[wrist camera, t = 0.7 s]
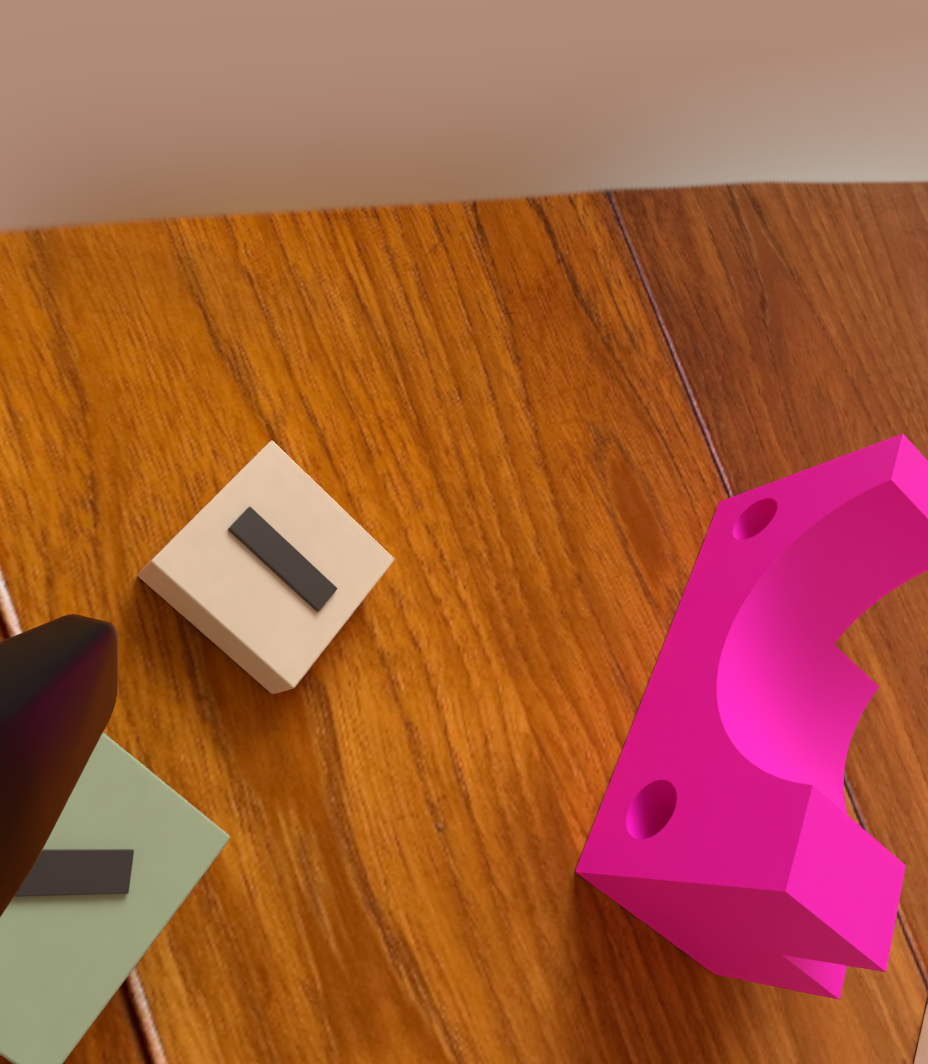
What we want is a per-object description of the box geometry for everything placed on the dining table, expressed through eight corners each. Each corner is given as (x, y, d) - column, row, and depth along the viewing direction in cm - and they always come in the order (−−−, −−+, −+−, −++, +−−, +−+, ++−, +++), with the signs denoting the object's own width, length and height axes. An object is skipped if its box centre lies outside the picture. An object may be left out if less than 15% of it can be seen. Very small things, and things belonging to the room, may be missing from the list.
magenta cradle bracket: (713, 974, 27) (946, 1021, 21) (574, 871, 26) (785, 891, 20) (821, 600, 35) (1014, 556, 29) (719, 501, 33) (902, 433, 27)
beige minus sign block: (272, 695, 22) (296, 688, 21) (135, 575, 21) (151, 559, 20) (371, 571, 25) (398, 557, 23) (252, 458, 24) (274, 437, 22)
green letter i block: (12, 1022, 18) (47, 1089, 14) (-179, 890, 17) (-203, 917, 13) (164, 831, 20) (234, 837, 16) (6, 704, 19) (37, 676, 15)
